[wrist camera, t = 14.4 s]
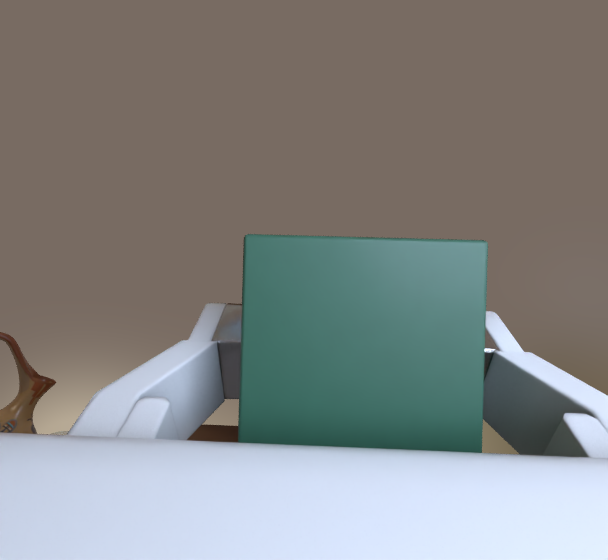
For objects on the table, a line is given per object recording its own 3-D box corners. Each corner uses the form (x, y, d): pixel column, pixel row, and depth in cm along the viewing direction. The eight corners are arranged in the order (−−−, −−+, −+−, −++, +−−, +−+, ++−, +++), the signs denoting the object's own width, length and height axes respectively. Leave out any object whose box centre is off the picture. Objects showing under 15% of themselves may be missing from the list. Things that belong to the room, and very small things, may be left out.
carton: (481, 521, 7) (490, 239, 7) (235, 510, 7) (243, 233, 7) (353, 335, 29) (355, 270, 29) (296, 333, 29) (298, 269, 29)
